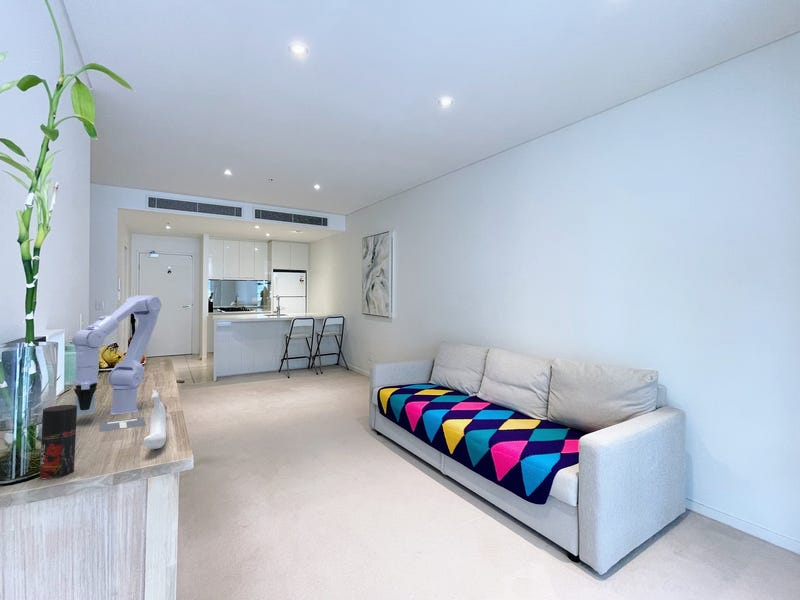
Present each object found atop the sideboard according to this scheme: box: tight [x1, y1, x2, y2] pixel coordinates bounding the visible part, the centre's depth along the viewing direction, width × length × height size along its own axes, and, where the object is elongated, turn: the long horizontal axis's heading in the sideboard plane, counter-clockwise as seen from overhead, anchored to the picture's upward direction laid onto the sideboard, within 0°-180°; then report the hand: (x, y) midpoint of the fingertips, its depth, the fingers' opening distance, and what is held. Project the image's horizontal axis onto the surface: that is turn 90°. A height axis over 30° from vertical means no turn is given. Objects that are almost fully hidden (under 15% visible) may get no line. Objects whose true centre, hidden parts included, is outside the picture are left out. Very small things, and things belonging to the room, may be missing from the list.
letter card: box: [98, 416, 147, 433], centre depth 124 cm, size 12×12×1 cm
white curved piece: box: [142, 389, 167, 450], centre depth 106 cm, size 5×19×15 cm, turn 30°
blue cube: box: [74, 394, 96, 416], centre depth 125 cm, size 5×5×5 cm
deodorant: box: [39, 404, 78, 480], centre depth 88 cm, size 6×6×15 cm
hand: (85, 407), depth 125 cm, fingers closed on blue cube, 5 cm apart
